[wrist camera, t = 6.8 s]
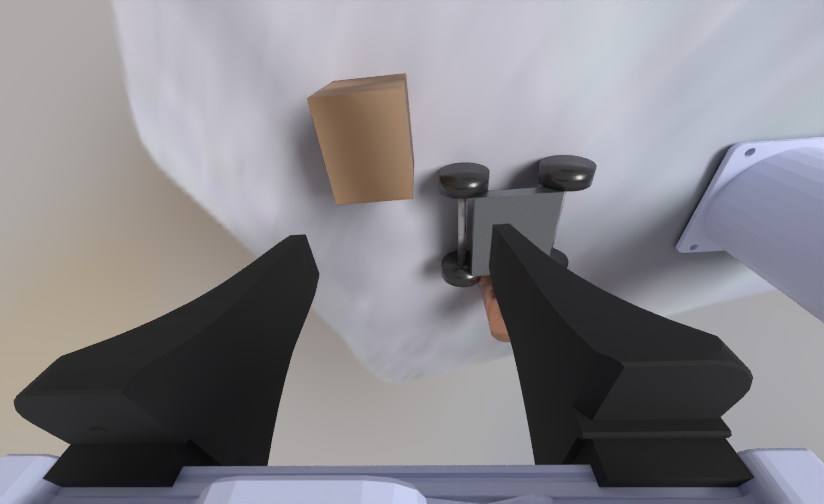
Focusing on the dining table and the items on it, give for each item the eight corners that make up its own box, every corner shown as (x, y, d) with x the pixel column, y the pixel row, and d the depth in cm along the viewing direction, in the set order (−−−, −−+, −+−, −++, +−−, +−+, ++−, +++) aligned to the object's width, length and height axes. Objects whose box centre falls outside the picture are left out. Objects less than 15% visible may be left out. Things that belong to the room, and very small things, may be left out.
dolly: (582, 153, 19) (606, 172, 16) (556, 255, 23) (572, 281, 21) (436, 164, 19) (439, 184, 17) (440, 261, 24) (443, 288, 22)
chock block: (405, 73, 16) (401, 88, 12) (414, 163, 19) (412, 198, 15) (333, 80, 17) (307, 98, 13) (352, 168, 20) (336, 204, 16)
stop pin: (526, 202, 20) (552, 245, 16) (511, 291, 25) (529, 341, 21) (484, 205, 21) (500, 248, 17) (478, 293, 26) (489, 342, 22)
